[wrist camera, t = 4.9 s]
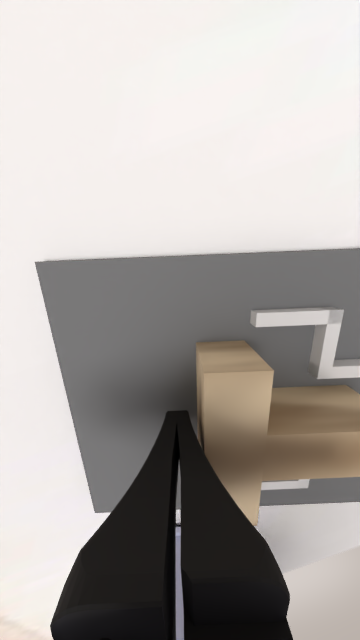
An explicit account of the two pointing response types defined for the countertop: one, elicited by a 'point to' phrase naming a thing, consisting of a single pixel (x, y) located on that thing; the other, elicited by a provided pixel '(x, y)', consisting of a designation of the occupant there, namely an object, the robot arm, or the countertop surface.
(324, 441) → the maple t block
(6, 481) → the countertop surface
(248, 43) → the countertop surface
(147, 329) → the nest mat
